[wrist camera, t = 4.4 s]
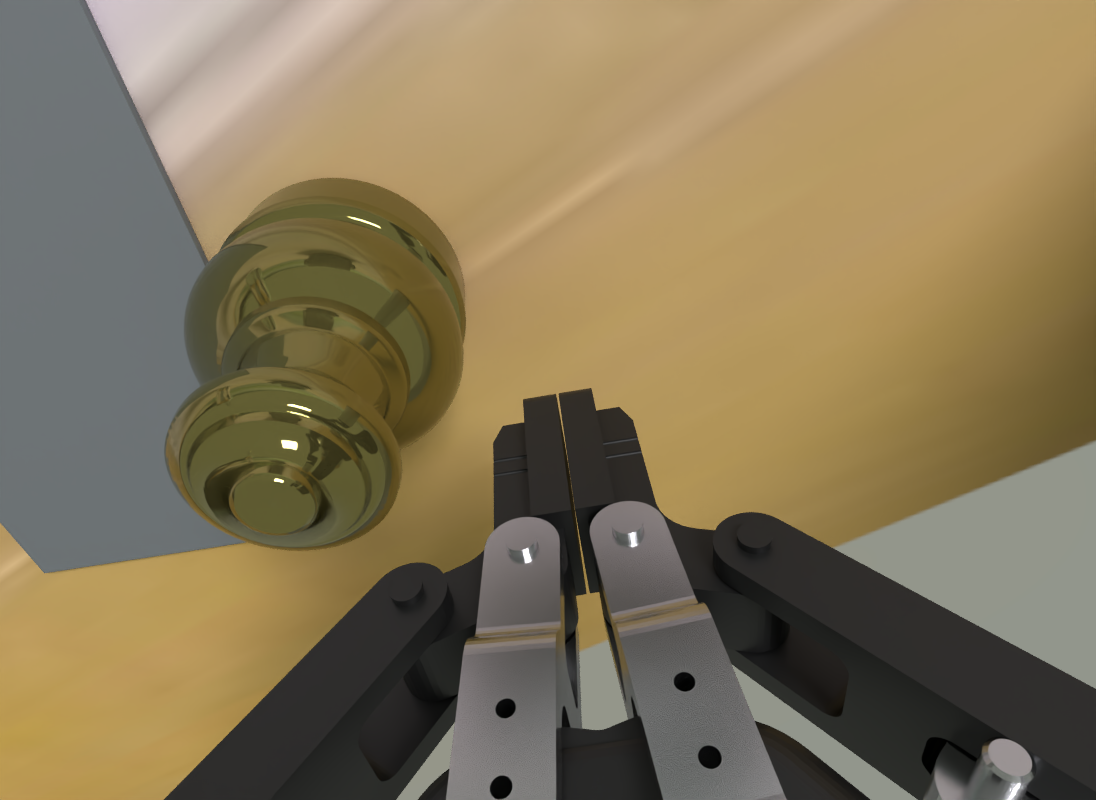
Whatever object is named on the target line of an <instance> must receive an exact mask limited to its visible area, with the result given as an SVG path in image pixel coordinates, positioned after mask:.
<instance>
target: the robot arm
mask: <svg viewBox="0 0 1096 800" xmlns="http://www.w3.org/2000/svg"><path fill="white" fill-rule="evenodd" d="M559 400H560V407H561V414H562V421H563V428H564V435H565V442H566V448H565V442H564V437H563V431H562V425H561V420H560V414H559V408H558V403H557V397H556V394H553V395H547V396H541V397H535V398H528V399H523V407H524V423H518V424H512V425H506V426H503V427H502V428H501V430H500V432H499V434H498V435H497V437H496V439H495V441H494V443H493V454H494V531H493V532H492V533H491V535H490V536H489V538H488V539H487V542H486V544H485V550H484V551H483V552H482V553H481V554H480V555H478V556H477V557H476V558H475V559H473V560H471V561H470V562H468V563H466V564H464V565H462V566H460V567H457V568H455V569H453V570H451V571H448V572H446V573H444V574H443V573H442V571H441V570H440V569H438V568H437V567H435V566H433V565H430V564H427V563H410V564H406V565H403V566H400V567H398V568H396V569H394V570H392V571H390V572H389V573H387V574H386V575H385V576H384V577H383V578H381V579H380V580H379V581H378V582H377V583H376V584H375V585H374V586H373V587H372V589H371V590H370V591H369V592H368V593H367V594H366V595H365V596H364V597H363V598H362V599H361V600H360V601H359V602H358V603H357V604H356V605H355V606H354V607H353V608H352V609H351V610H350V611H349V612H348V613H347V614H346V615H345V616H344V617H343V618H342V619H341V620H340V621H339V622H338V623H337V624H336V625H335V626H334V627H333V628H332V629H331V630H330V631H329V632H328V633H327V634H326V635H325V636H324V637H323V638H322V639H321V640H320V641H319V642H318V643H317V644H316V645H315V646H314V647H313V649H312V650H311V651H310V652H309V653H308V654H307V655H306V656H305V657H304V658H303V659H302V660H301V661H300V662H299V663H298V664H297V665H296V666H295V667H294V668H293V669H292V670H291V671H290V672H289V673H288V674H287V675H286V676H285V677H284V678H283V679H282V680H281V681H280V682H279V683H278V684H277V685H276V686H275V687H274V688H273V689H272V690H271V691H270V692H269V693H268V694H267V695H266V696H265V697H264V698H263V699H262V700H261V701H260V702H259V703H258V704H257V705H256V706H255V707H254V708H253V710H252V711H251V712H250V713H249V714H248V715H247V716H246V717H245V718H244V719H243V720H242V721H241V722H240V723H239V724H238V725H237V726H236V727H235V728H234V729H233V730H232V731H231V732H230V733H229V734H228V735H227V736H226V737H225V738H224V739H223V740H222V741H221V742H220V743H219V744H218V745H217V746H216V747H215V748H214V749H213V750H212V751H211V752H210V753H209V754H208V755H207V756H206V757H205V758H204V759H203V760H202V761H201V762H200V763H199V764H198V765H197V766H196V767H195V768H194V769H193V771H192V772H191V773H190V774H189V775H188V776H187V777H186V778H185V779H184V780H183V781H182V782H181V783H180V784H179V785H178V786H177V787H176V788H175V789H174V790H173V791H172V792H171V793H170V794H169V795H168V796H167V797H166V798H165V799H164V800H396V799H397V798H398V796H399V795H400V794H401V792H402V791H403V790H404V788H405V787H406V786H407V784H408V783H409V782H410V780H411V779H412V778H413V776H414V775H415V774H416V773H417V771H418V770H419V769H420V767H421V766H422V765H423V763H424V762H425V761H426V759H427V758H428V757H429V755H430V754H431V753H432V751H433V750H434V749H435V747H436V746H437V745H438V743H439V742H440V741H441V739H442V738H443V737H444V735H445V734H446V733H447V732H448V730H449V729H450V728H451V726H452V725H453V724H454V722H455V727H454V735H453V745H452V752H451V761H450V769H448V770H447V771H446V772H444V773H443V774H442V775H441V776H440V777H439V778H437V779H436V780H435V781H434V782H433V783H432V784H431V785H430V786H429V787H428V788H427V790H426V791H425V792H424V793H423V794H422V795H421V796H420V798H419V799H418V800H870V799H869V798H868V797H866V796H865V795H864V794H863V793H862V792H860V791H859V790H858V789H857V788H855V787H854V786H853V785H852V784H850V783H849V782H848V781H847V780H845V779H844V778H843V777H841V776H840V775H839V774H838V773H837V772H836V771H834V770H833V769H832V768H831V767H829V766H828V765H827V764H826V763H824V762H823V761H822V760H821V759H819V758H818V757H817V756H816V755H814V754H813V753H812V752H811V751H809V750H808V749H807V748H805V747H804V746H803V745H802V744H800V743H799V742H797V741H796V740H794V739H793V738H791V737H789V736H788V735H786V734H785V733H783V732H781V731H779V730H777V729H774V728H772V727H770V726H768V725H765V724H762V723H759V722H756V721H754V719H753V716H752V714H751V711H750V709H749V706H748V704H747V702H746V699H745V697H744V694H743V692H742V689H741V687H740V685H739V682H738V679H737V677H736V674H735V672H734V670H733V667H732V665H734V666H735V667H736V668H738V669H739V670H741V671H742V672H743V673H745V674H746V675H747V676H749V677H750V678H752V679H753V680H754V681H756V682H757V683H758V684H760V685H761V686H763V687H764V688H765V689H767V690H768V691H770V692H771V693H772V694H774V695H775V696H776V697H778V698H779V699H781V700H782V701H783V702H784V703H786V704H787V705H789V706H790V707H791V708H793V709H794V710H796V711H797V712H798V713H800V714H801V715H802V716H804V717H805V718H807V719H808V720H809V721H811V722H812V723H813V724H815V725H816V726H817V727H819V728H820V729H822V730H823V731H824V732H826V733H827V734H828V735H830V736H831V737H833V738H834V739H836V740H837V741H838V742H840V743H841V744H842V745H844V746H845V747H847V748H848V749H849V750H851V751H852V752H853V753H855V754H856V755H857V756H859V757H860V758H861V759H863V760H864V761H866V762H867V763H868V764H870V765H871V766H872V767H874V768H875V769H877V770H878V771H879V772H881V773H882V774H883V775H885V776H886V777H888V778H889V779H890V780H892V781H893V782H894V783H896V784H897V785H899V786H900V787H901V788H903V789H904V790H906V791H907V792H908V793H910V794H911V795H912V796H914V797H915V798H916V799H918V800H1096V689H1095V688H1093V687H1091V686H1089V685H1087V684H1086V683H1084V682H1082V681H1080V680H1078V679H1076V678H1074V677H1072V676H1071V675H1069V674H1067V673H1065V672H1063V671H1061V670H1059V669H1057V668H1056V667H1054V666H1052V665H1050V664H1048V663H1046V662H1044V661H1042V660H1040V659H1039V658H1037V657H1035V656H1033V655H1031V654H1029V653H1028V652H1026V651H1024V650H1022V649H1020V648H1018V647H1016V646H1014V645H1013V644H1010V643H1009V642H1007V641H1005V640H1003V639H1001V638H1000V637H998V636H996V635H994V634H992V633H990V632H988V631H986V630H985V629H983V628H981V627H979V626H977V625H975V624H973V623H971V622H970V621H968V620H966V619H964V618H962V617H960V616H958V615H957V614H955V613H953V612H951V611H949V610H947V609H945V608H943V607H941V606H940V605H938V604H936V603H934V602H932V601H930V600H928V599H927V598H925V597H923V596H921V595H919V594H917V593H915V592H914V591H912V590H909V589H908V588H906V587H904V586H902V585H900V584H899V583H897V582H895V581H893V580H891V579H889V578H887V577H885V576H884V575H882V574H880V573H878V572H876V571H874V570H872V569H870V568H868V567H867V566H865V565H863V564H861V563H859V562H857V561H855V560H854V559H852V558H850V557H848V556H846V555H844V554H842V553H841V552H839V551H837V550H835V549H833V548H831V547H829V546H827V545H826V544H824V543H822V542H820V541H818V540H816V539H814V538H813V537H811V536H809V535H807V534H805V533H803V532H801V531H799V530H798V529H796V528H794V527H792V526H790V525H788V524H786V523H784V522H783V521H781V520H779V519H777V518H775V517H772V516H770V515H766V514H762V513H754V512H747V513H740V514H736V515H733V516H730V517H728V518H727V519H725V520H724V521H722V522H721V523H720V524H719V525H718V526H717V528H716V530H705V529H696V528H689V527H686V526H682V525H680V524H677V523H675V522H673V521H671V520H670V519H668V518H667V517H666V516H665V515H664V514H663V513H662V512H661V511H660V510H659V508H658V507H657V504H656V502H655V498H654V495H653V491H652V487H651V484H650V480H649V477H648V473H647V469H646V466H645V462H644V459H643V455H642V452H641V448H640V444H639V441H638V437H637V433H636V430H635V426H634V423H633V420H632V419H631V418H630V417H629V416H628V415H627V414H626V413H625V412H624V411H623V410H622V409H621V408H620V407H616V408H610V409H604V410H598V411H596V408H595V403H594V398H593V394H592V389H591V388H589V389H583V390H577V391H571V392H564V393H559ZM566 449H567V454H566ZM567 456H568V460H567ZM568 463H569V466H568ZM569 470H570V473H569ZM570 477H571V480H570ZM571 485H572V487H571ZM572 492H573V494H572ZM573 499H574V501H573ZM574 506H575V508H574ZM575 512H576V515H575ZM576 518H577V523H578V529H579V535H580V540H581V546H582V551H583V557H584V563H585V568H586V574H587V580H588V585H589V591H590V593H595V592H600V598H601V604H602V610H603V616H604V622H605V628H606V633H607V637H608V640H609V644H610V648H611V652H612V656H613V660H614V664H615V668H616V672H617V676H618V680H619V684H620V688H621V692H622V696H623V700H624V704H625V708H626V712H627V717H628V720H626V721H624V722H621V723H619V724H617V725H615V726H612V727H610V728H607V729H604V730H589V729H582V720H581V694H580V693H581V692H580V664H579V634H578V627H577V623H578V608H577V600H576V596H577V595H583V594H586V587H585V579H584V572H583V565H582V558H581V551H580V544H579V537H578V530H577V523H576ZM731 664H732V665H731Z"/></svg>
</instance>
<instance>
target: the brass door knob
mask: <svg viewBox="0 0 1096 800" xmlns="http://www.w3.org/2000/svg"><path fill="white" fill-rule="evenodd" d="M465 329H466V317H465V285H464V279H463V274H462V271H461V267H460V264H459V261H458V259H457V256H456V254H455V252H454V250H453V248H452V246H451V245H450V243H449V241H448V239H447V238H446V237H445V235H444V234H443V232H442V231H441V230H440V229H439V227H438V226H437V225H436V224H435V223H434V222H433V221H432V220H431V219H430V218H429V217H428V216H427V215H426V214H425V213H424V212H423V211H421V210H420V209H419V208H418V207H416V206H415V205H414V204H412V203H411V202H409V201H408V200H406V199H404V198H403V197H401V196H400V195H398V194H395V193H393V192H391V191H389V190H387V189H385V188H382V187H380V186H377V185H373V184H370V183H367V182H362V181H358V180H352V179H344V178H321V179H314V180H308V181H304V182H299V183H296V184H293V185H290V186H288V187H286V188H283V189H281V190H279V191H278V192H276V193H274V194H272V195H271V196H269V197H268V198H267V199H265V200H264V201H263V202H261V203H260V204H259V205H258V206H257V207H256V208H255V209H254V210H253V211H252V212H251V213H250V215H249V216H248V217H247V219H246V220H245V221H243V222H242V223H241V224H240V225H239V226H238V227H237V228H236V229H235V230H234V231H233V232H232V233H231V234H230V235H229V237H228V238H227V239H226V241H225V242H224V244H223V245H222V247H221V249H220V251H219V252H218V253H217V254H216V255H215V256H214V257H213V258H212V259H211V260H210V261H209V262H208V264H207V265H206V266H205V267H204V269H203V270H202V271H201V273H200V274H199V276H198V277H197V279H196V281H195V283H194V285H193V287H192V289H191V292H190V294H189V297H188V301H187V304H186V309H185V315H184V330H183V331H184V342H185V347H186V352H187V356H188V359H189V363H190V366H191V368H192V371H193V373H194V375H195V377H196V379H197V381H198V383H199V385H200V387H199V388H197V389H196V390H195V391H194V392H192V393H191V394H190V395H189V396H188V397H187V398H186V399H185V400H184V401H183V402H182V404H181V405H180V406H179V408H178V409H177V411H176V413H175V414H174V416H173V418H172V421H171V423H170V426H169V429H168V432H167V435H166V439H165V446H164V456H165V464H166V468H167V471H168V474H169V477H170V479H171V481H172V483H173V485H174V487H175V489H176V490H177V492H178V493H179V495H180V496H181V497H182V499H183V500H184V501H185V502H186V503H187V505H188V506H189V507H190V508H191V509H192V510H193V511H194V512H196V513H197V514H198V515H199V516H200V517H201V518H203V519H204V520H205V521H207V522H208V523H209V524H211V525H213V526H214V527H216V528H217V529H219V530H221V531H223V532H224V533H226V534H228V535H231V536H233V537H235V538H237V539H240V540H242V541H245V542H248V543H251V544H254V545H258V546H262V547H267V548H272V549H279V550H289V551H310V550H320V549H326V548H331V547H335V546H339V545H342V544H345V543H348V542H350V541H353V540H355V539H357V538H359V537H361V536H363V535H364V534H366V533H368V532H369V531H370V530H372V529H373V528H374V527H376V526H377V525H378V524H379V523H380V522H381V521H382V520H383V519H384V518H385V516H386V515H387V514H388V512H389V511H390V509H391V507H392V505H393V503H394V501H395V499H396V496H397V493H398V490H399V487H400V483H401V478H402V460H401V454H400V450H401V449H403V448H405V447H407V446H409V445H411V444H413V443H414V442H416V441H417V440H419V439H420V438H422V437H423V436H424V435H425V434H427V433H428V432H429V431H430V430H431V429H432V428H433V427H434V426H435V425H436V424H437V423H438V422H439V421H440V420H441V419H442V417H443V416H444V415H445V413H446V412H447V410H448V409H449V407H450V405H451V404H452V402H453V400H454V397H455V395H456V393H457V390H458V388H459V385H460V381H461V376H462V370H463V355H464V353H463V343H464V337H465Z"/></svg>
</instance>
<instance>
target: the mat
mask: <svg viewBox="0 0 1096 800" xmlns="http://www.w3.org/2000/svg"><path fill="white" fill-rule="evenodd" d="M207 264H208V260H207V258H206V256H205V254H204V252H203V249H202V247H201V245H200V243H199V241H198V239H197V237H196V235H195V232H194V230H193V228H192V226H191V224H190V222H189V220H188V218H187V215H186V213H185V211H184V209H183V207H182V205H181V203H180V201H179V198H178V196H177V194H176V192H175V190H174V188H173V186H172V184H171V182H170V179H169V177H168V175H167V173H166V171H165V169H164V167H163V165H162V162H161V160H160V158H159V156H158V154H157V152H156V150H155V148H154V145H153V143H152V141H151V139H150V137H149V135H148V133H147V131H146V128H145V126H144V124H143V122H142V120H141V118H140V116H139V114H138V112H137V109H136V107H135V105H134V103H133V101H132V99H131V97H130V95H129V92H128V90H127V88H126V86H125V84H124V82H123V80H122V78H121V75H120V73H119V71H118V69H117V67H116V65H115V63H114V61H113V58H112V56H111V54H110V52H109V50H108V48H107V46H106V44H105V42H104V39H103V37H102V35H101V33H100V31H99V29H98V27H97V25H96V22H95V20H94V18H93V16H92V14H91V12H90V10H89V8H88V5H87V3H86V1H85V0H0V523H1V524H2V525H3V526H4V527H5V529H6V530H7V531H8V532H9V533H10V534H11V535H12V537H13V538H14V539H15V540H16V541H17V542H18V543H19V545H20V546H21V547H22V548H23V549H24V550H25V551H26V553H27V554H28V555H29V556H30V557H31V558H32V560H33V561H34V562H35V563H36V564H37V565H38V566H39V568H40V569H41V570H42V571H43V572H44V573H48V572H55V571H61V570H68V569H74V568H81V567H87V566H94V565H101V564H107V563H114V562H120V561H127V560H133V559H140V558H146V557H153V556H159V555H166V554H172V553H179V552H186V551H192V550H199V549H205V548H212V547H218V546H225V545H231V544H238V543H244V542H245V541H242V540H240V539H237V538H235V537H233V536H231V535H228V534H226V533H224V532H223V531H221V530H219V529H217V528H216V527H214V526H213V525H211V524H209V523H208V522H207V521H205V520H204V519H203V518H201V517H200V516H199V515H198V514H197V513H196V512H194V511H193V510H192V509H191V508H190V507H189V506H188V505H187V503H186V502H185V501H184V500H183V499H182V497H181V496H180V495H179V493H178V492H177V490H176V489H175V487H174V485H173V483H172V481H171V479H170V477H169V474H168V471H167V468H166V464H165V456H164V446H165V439H166V435H167V432H168V429H169V426H170V423H171V421H172V418H173V416H174V414H175V413H176V411H177V409H178V408H179V406H180V405H181V404H182V402H183V401H184V400H185V399H186V398H187V397H188V396H189V395H190V394H191V393H192V392H194V391H195V390H196V389H197V388H199V387H200V385H199V383H198V381H197V379H196V377H195V375H194V373H193V371H192V368H191V366H190V363H189V359H188V356H187V352H186V347H185V342H184V331H183V330H184V315H185V309H186V304H187V301H188V297H189V294H190V292H191V289H192V287H193V285H194V283H195V281H196V279H197V277H198V276H199V274H200V273H201V271H202V270H203V269H204V267H205V266H206V265H207Z"/></svg>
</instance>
